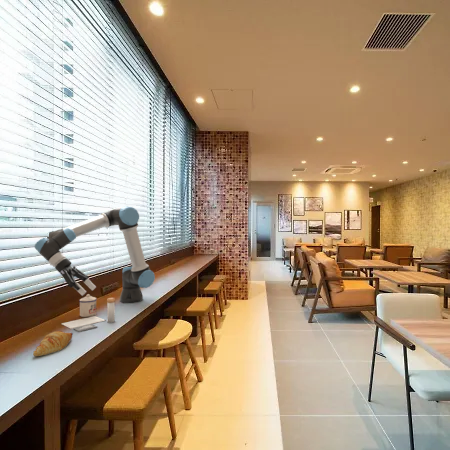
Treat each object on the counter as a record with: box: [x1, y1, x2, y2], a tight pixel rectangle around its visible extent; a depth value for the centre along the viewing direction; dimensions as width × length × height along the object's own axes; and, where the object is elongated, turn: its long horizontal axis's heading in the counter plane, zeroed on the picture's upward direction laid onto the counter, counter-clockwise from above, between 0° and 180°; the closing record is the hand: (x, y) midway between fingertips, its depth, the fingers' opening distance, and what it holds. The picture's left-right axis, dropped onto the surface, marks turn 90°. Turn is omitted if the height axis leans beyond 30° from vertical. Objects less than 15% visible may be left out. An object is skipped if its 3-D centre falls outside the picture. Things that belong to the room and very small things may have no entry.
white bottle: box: [106, 297, 116, 324], centre depth 165 cm, size 4×4×12 cm
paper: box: [61, 315, 107, 330], centre depth 165 cm, size 18×12×1 cm, turn 138°
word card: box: [73, 324, 98, 333], centre depth 154 cm, size 9×6×1 cm, turn 138°
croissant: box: [32, 330, 73, 357], centre depth 129 cm, size 21×10×8 cm, turn 170°
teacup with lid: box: [78, 293, 98, 318], centre depth 180 cm, size 12×9×12 cm
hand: (89, 291), depth 165 cm, fingers open, 13 cm apart
